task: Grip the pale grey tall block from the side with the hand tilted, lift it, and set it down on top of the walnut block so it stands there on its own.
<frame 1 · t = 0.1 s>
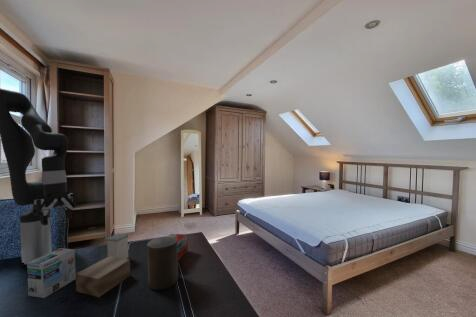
hand: (57, 221, 86), 17 cm above the table, tool pointing down, fingers open, 8 cm apart
walnut block: (104, 283, 72), on the table
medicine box: (171, 259, 88), on the table
pillar candle: (163, 281, 72), on the table
light bulb box: (53, 287, 70), on the table
pale grey tall block: (118, 260, 87), on the table
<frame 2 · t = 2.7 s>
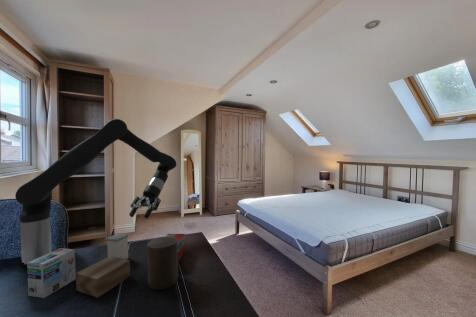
hand: (138, 217, 98), 15 cm above the table, tool tilted 45°, fingers open, 8 cm apart
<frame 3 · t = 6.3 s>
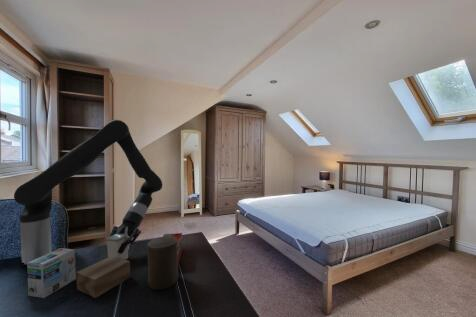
hand: (114, 251, 86), 4 cm above the table, tool tilted 45°, fingers closed on pale grey tall block, 5 cm apart
pale grey tall block: (118, 260, 87), on the table, touching gripper
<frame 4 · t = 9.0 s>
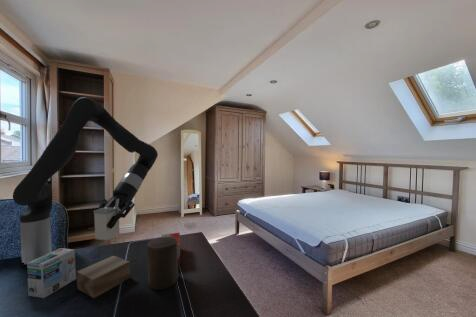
hand: (102, 226, 73), 19 cm above the table, tool tilted 45°, fingers closed on pale grey tall block, 5 cm apart
pale grey tall block: (107, 236, 75), point 15 cm above the table, touching gripper
when the fingers open (12 cm above the table, at t = 11.5 s): pale grey tall block drops 2 cm, point 6 cm above the table.
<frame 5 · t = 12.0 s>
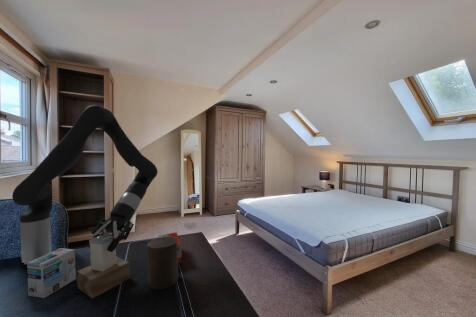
hand: (99, 249, 70), 12 cm above the table, tool tilted 45°, fingers open, 8 cm apart
pale grey tall block: (104, 266, 72), point 6 cm above the table
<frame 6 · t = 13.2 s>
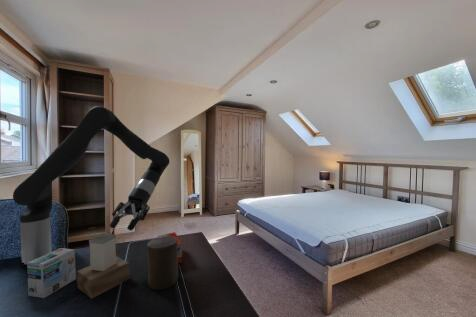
hand: (120, 228, 78), 16 cm above the table, tool tilted 45°, fingers open, 8 cm apart
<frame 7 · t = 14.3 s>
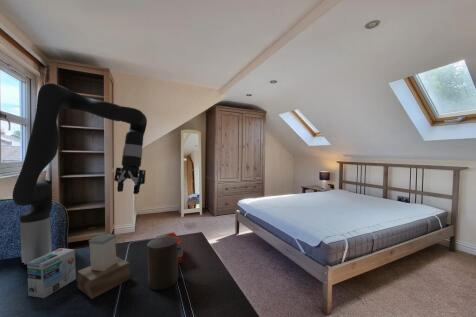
hand: (127, 192, 90), 27 cm above the table, tool pointing down, fingers open, 8 cm apart
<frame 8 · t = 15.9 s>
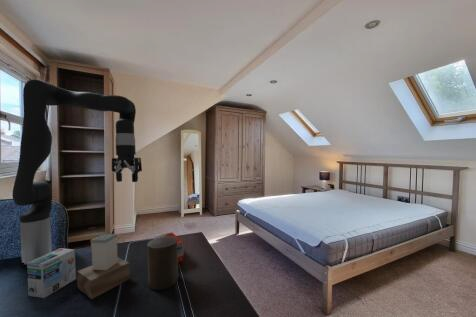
hand: (127, 181, 91), 32 cm above the table, tool pointing down, fingers open, 8 cm apart
walnut block: (104, 284, 72), on the table, touching pale grey tall block
pale grey tall block: (105, 266, 72), point 6 cm above the table, touching walnut block
at the end: pale grey tall block inside the target area on the walnut block (0.4 cm from its centre), point 6.1 cm above the walnut block's base; pale grey tall block tilted 2°; the gripper is holding nothing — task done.
